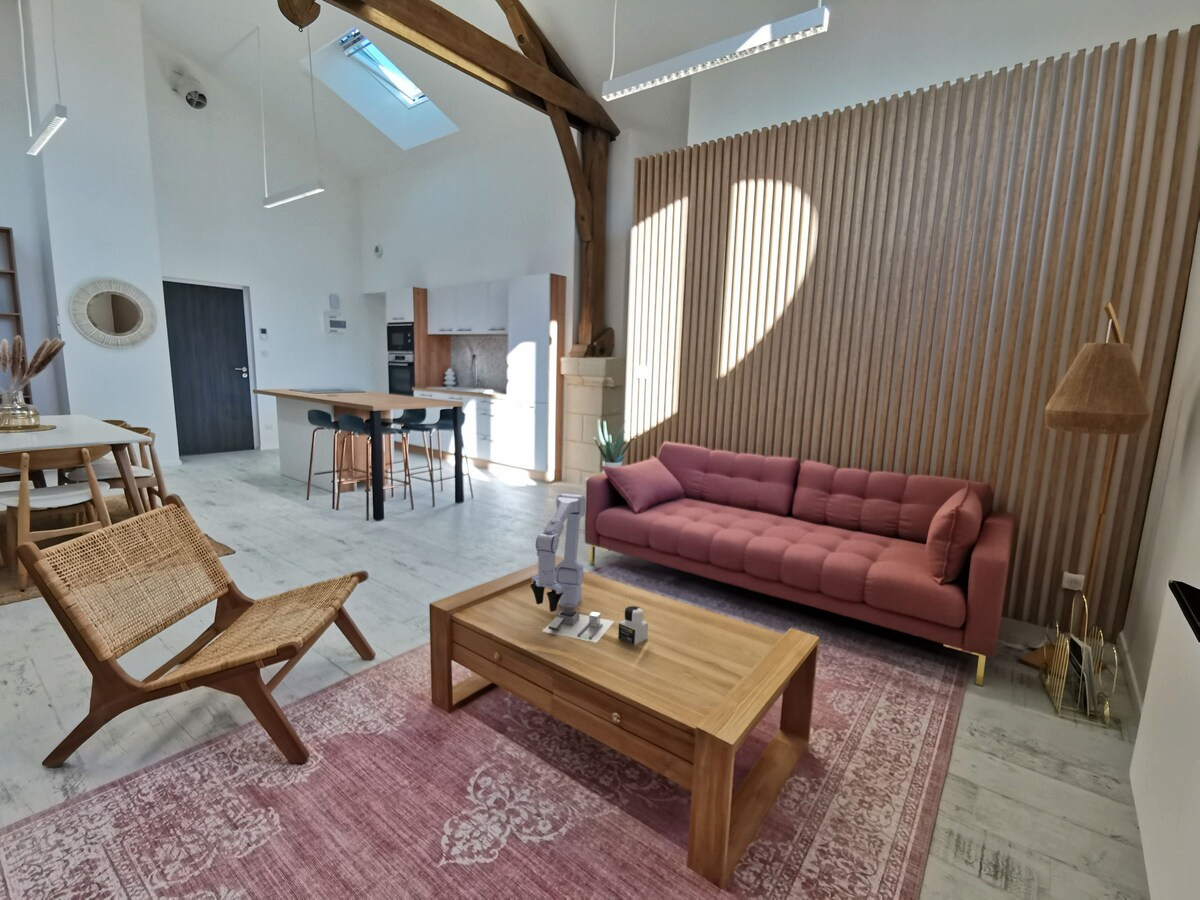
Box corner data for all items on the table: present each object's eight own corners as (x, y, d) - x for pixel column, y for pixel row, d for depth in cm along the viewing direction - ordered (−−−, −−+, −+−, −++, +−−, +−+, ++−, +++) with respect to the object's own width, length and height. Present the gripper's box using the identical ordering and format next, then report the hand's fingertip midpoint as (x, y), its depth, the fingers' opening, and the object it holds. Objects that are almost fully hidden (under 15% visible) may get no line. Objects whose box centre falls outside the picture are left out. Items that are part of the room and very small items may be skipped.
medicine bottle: (617, 642, 197) (618, 608, 195) (631, 635, 202) (632, 602, 200) (634, 649, 192) (635, 614, 190) (647, 642, 197) (649, 608, 195)
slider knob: (592, 622, 207) (592, 611, 206) (600, 624, 206) (600, 613, 205) (588, 625, 204) (589, 615, 203) (597, 627, 203) (597, 616, 202)
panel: (563, 615, 217) (563, 603, 216) (614, 624, 210) (614, 613, 209) (541, 635, 200) (541, 623, 199) (596, 646, 193) (596, 634, 192)
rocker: (556, 619, 204) (555, 616, 204) (563, 620, 203) (563, 618, 203) (548, 628, 199) (548, 626, 199) (556, 630, 198) (556, 628, 198)
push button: (565, 613, 211) (565, 602, 210) (575, 615, 209) (576, 604, 209) (560, 617, 207) (561, 607, 206) (571, 619, 206) (571, 609, 205)
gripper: (524, 565, 200) (524, 603, 202) (550, 577, 190) (549, 617, 192) (541, 561, 205) (540, 598, 207) (567, 573, 194) (566, 611, 197)
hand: (546, 607), depth 200 cm, fingers open, 7 cm apart
